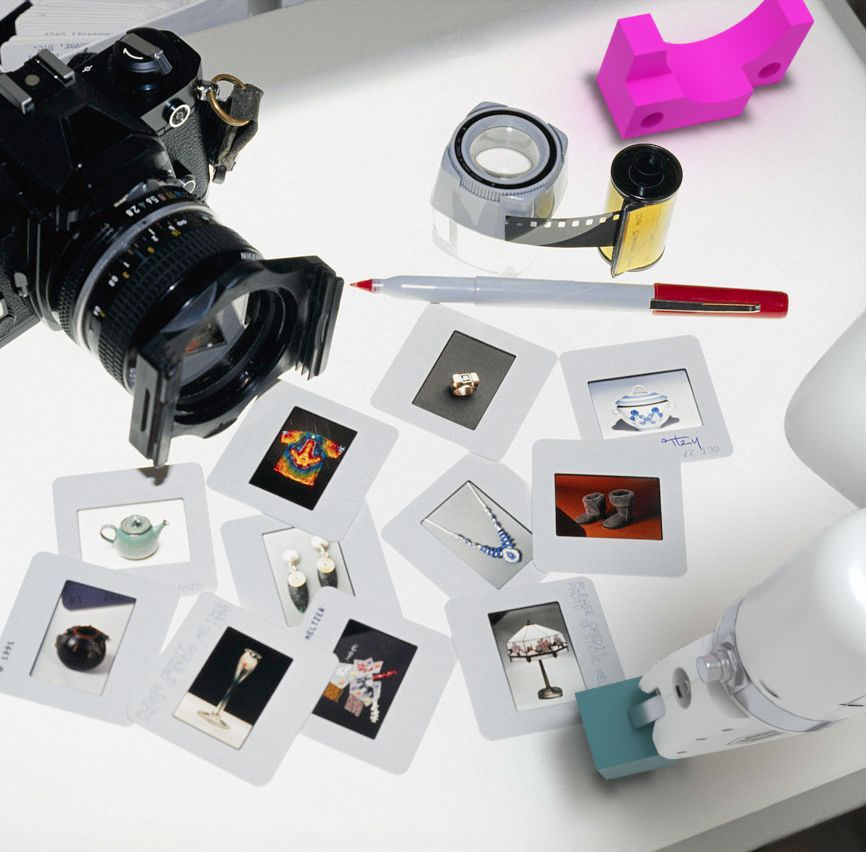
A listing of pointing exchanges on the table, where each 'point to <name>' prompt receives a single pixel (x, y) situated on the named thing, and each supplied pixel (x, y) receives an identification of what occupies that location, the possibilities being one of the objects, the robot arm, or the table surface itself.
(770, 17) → the magenta bracket
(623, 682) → the teal rectangular block
